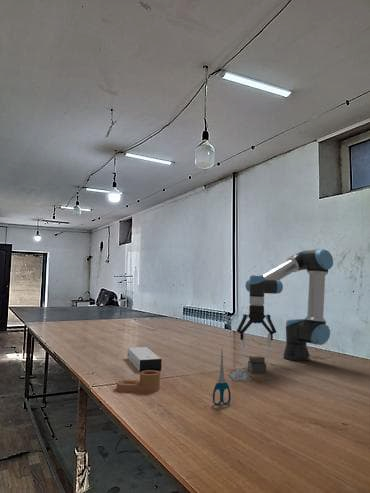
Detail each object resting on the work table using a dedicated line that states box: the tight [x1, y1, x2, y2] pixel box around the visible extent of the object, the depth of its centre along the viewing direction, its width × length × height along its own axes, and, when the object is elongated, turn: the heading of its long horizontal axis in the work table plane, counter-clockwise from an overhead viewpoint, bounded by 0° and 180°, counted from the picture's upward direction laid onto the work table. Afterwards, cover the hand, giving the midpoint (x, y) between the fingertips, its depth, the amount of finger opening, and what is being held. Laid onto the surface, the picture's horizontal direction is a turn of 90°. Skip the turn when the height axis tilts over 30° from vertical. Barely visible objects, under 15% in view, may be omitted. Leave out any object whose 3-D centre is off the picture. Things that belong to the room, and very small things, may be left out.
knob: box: [247, 355, 267, 374], centre depth 187 cm, size 8×8×8 cm
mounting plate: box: [227, 365, 252, 382], centre depth 175 cm, size 8×12×5 cm, turn 6°
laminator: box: [127, 346, 162, 373], centre depth 200 cm, size 34×12×6 cm, turn 19°
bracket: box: [116, 370, 161, 394], centre depth 154 cm, size 18×8×7 cm, turn 89°
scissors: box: [212, 350, 232, 406], centre depth 137 cm, size 7×1×20 cm, turn 105°
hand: (256, 346), depth 188 cm, fingers open, 13 cm apart
